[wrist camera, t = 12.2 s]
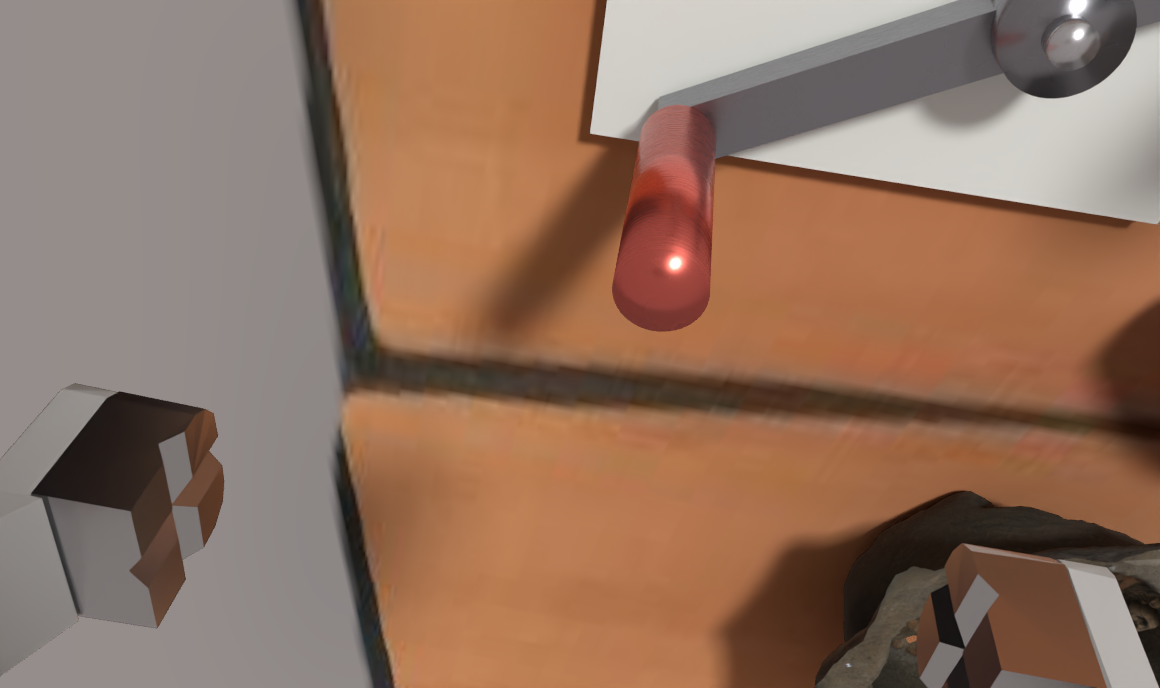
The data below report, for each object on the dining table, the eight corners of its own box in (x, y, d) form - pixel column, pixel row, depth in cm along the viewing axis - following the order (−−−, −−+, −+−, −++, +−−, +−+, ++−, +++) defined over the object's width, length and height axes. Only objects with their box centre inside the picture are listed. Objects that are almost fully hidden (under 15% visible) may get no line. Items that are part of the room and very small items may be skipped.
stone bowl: (770, 452, 53) (791, 586, 45) (1281, 397, 49) (1398, 533, 41) (800, 731, 66) (820, 871, 59) (1203, 705, 63) (1280, 850, 55)
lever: (1222, -115, 34) (1442, 6, 23) (1226, 8, 36) (1428, 169, 25) (628, 82, 40) (589, 245, 30) (663, 175, 43) (638, 357, 32)
